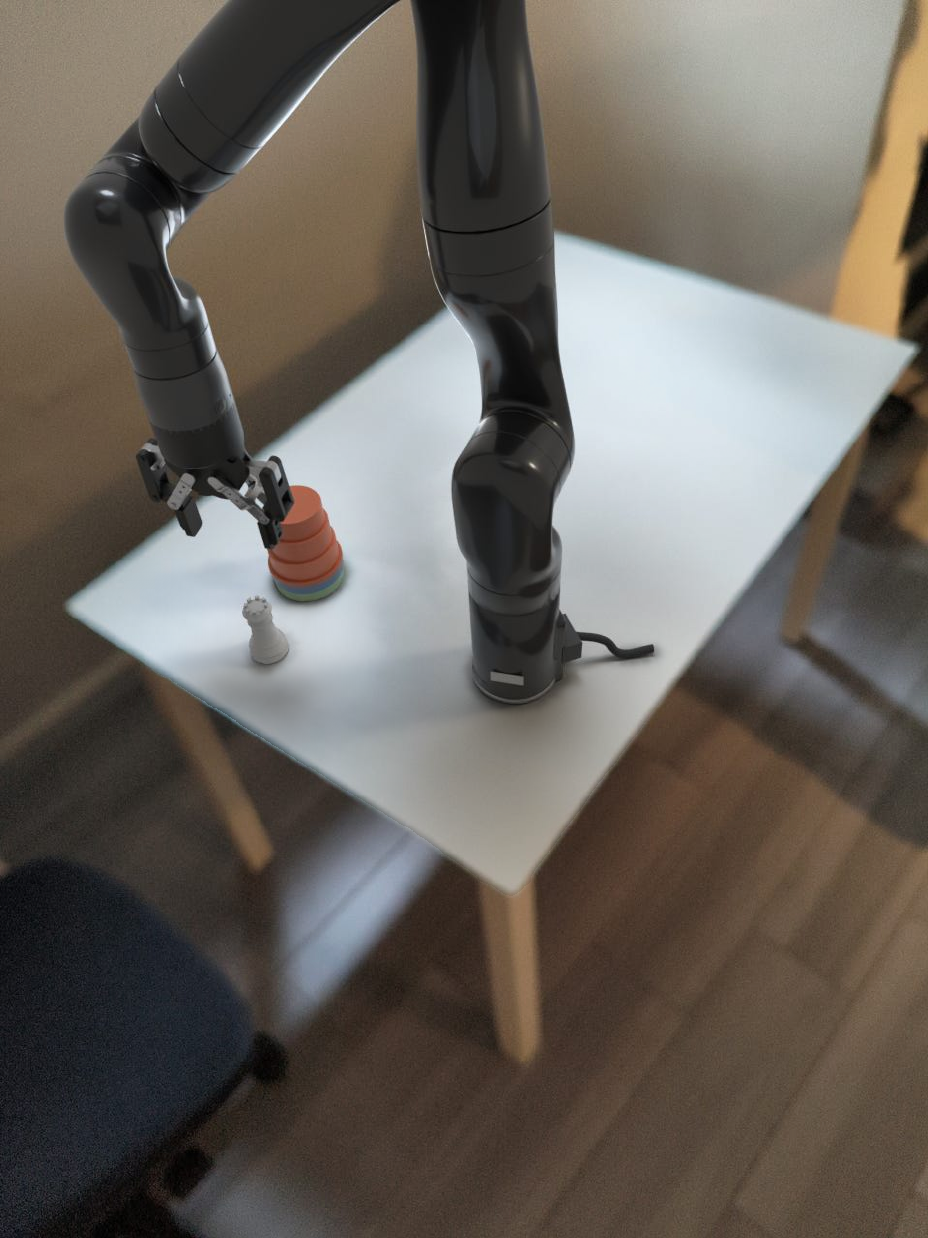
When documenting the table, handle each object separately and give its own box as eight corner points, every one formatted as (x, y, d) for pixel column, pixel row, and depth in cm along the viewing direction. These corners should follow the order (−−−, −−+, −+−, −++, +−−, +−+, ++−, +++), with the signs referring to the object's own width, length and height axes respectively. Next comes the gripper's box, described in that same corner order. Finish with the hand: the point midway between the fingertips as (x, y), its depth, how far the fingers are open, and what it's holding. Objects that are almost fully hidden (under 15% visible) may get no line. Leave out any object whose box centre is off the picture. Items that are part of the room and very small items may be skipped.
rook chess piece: (261, 672, 103) (245, 626, 97) (244, 647, 106) (227, 601, 100) (296, 654, 105) (282, 607, 99) (279, 630, 107) (264, 583, 101)
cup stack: (336, 542, 116) (321, 470, 108) (354, 590, 111) (340, 518, 102) (266, 561, 115) (245, 489, 106) (281, 611, 109) (260, 540, 100)
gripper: (281, 386, 80) (313, 522, 92) (137, 368, 83) (186, 502, 95) (246, 438, 75) (284, 575, 88) (94, 417, 79) (152, 552, 91)
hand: (233, 537), depth 92 cm, fingers open, 8 cm apart
